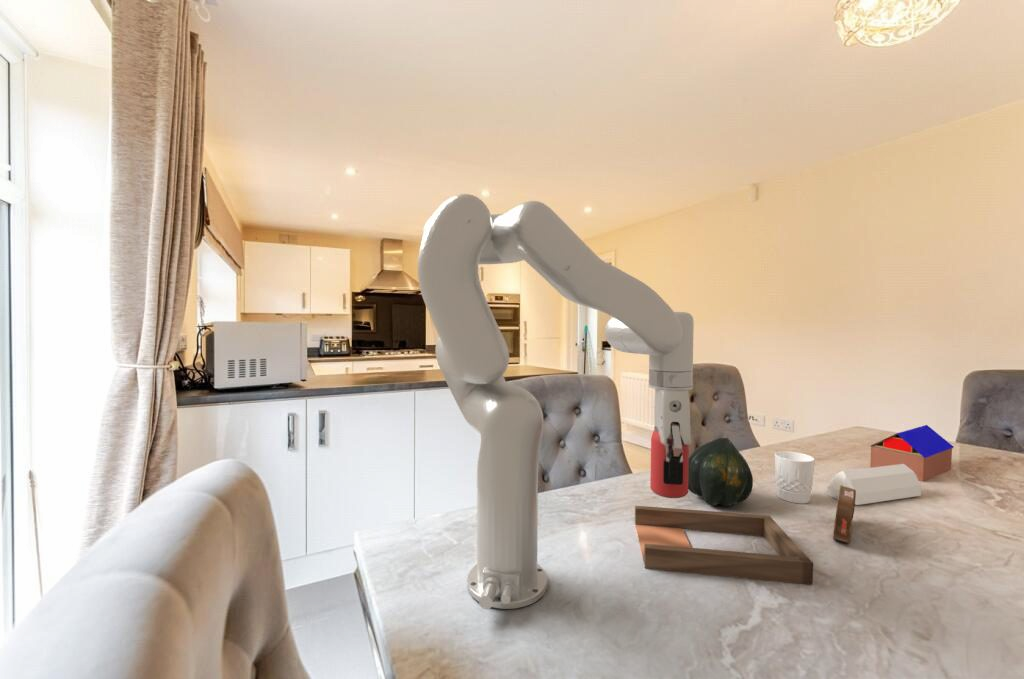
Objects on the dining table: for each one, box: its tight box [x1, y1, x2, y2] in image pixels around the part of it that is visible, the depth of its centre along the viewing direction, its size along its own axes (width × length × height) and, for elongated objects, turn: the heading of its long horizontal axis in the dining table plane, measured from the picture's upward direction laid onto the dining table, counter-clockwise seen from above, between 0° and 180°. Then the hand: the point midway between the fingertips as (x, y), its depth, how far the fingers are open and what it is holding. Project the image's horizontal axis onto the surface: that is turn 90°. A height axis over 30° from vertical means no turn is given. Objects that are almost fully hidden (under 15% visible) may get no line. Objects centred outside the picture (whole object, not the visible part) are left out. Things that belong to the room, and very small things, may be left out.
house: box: [869, 424, 954, 483], centre depth 123 cm, size 12×20×12 cm, turn 119°
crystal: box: [826, 464, 922, 506], centre depth 103 cm, size 7×7×24 cm
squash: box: [688, 437, 754, 507], centre depth 101 cm, size 14×15×15 cm
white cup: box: [774, 450, 816, 505], centre depth 102 cm, size 8×8×10 cm
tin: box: [832, 485, 856, 544], centre depth 85 cm, size 15×3×8 cm, turn 141°
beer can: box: [649, 425, 690, 499], centre depth 80 cm, size 7×7×12 cm
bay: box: [634, 505, 814, 586], centre depth 79 cm, size 17×26×4 cm, turn 80°
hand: (669, 475), depth 80 cm, fingers closed on beer can, 6 cm apart
